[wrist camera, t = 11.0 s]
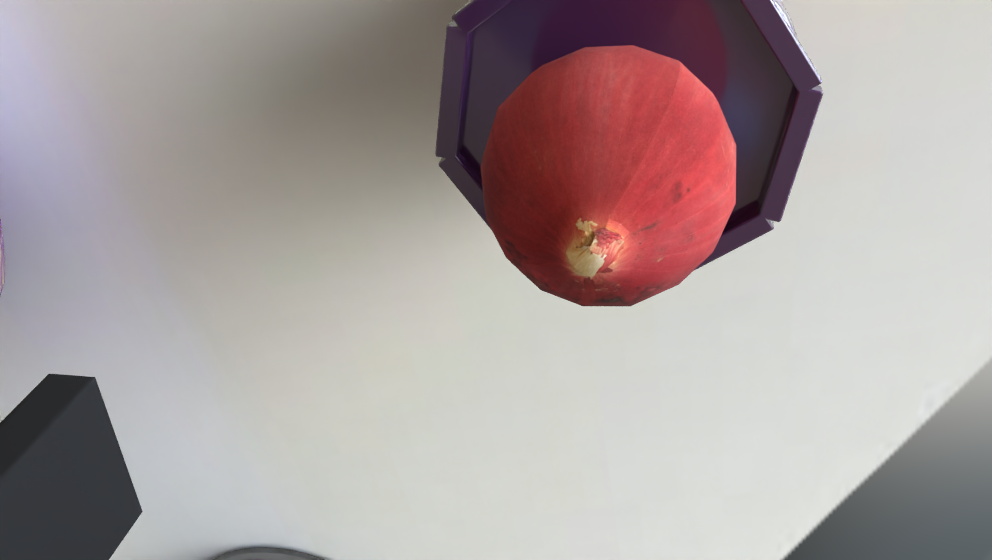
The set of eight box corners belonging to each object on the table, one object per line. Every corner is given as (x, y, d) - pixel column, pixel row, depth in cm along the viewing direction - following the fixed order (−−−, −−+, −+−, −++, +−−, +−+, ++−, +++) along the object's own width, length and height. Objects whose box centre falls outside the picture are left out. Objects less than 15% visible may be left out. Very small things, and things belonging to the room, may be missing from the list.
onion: (727, 215, 25) (739, 400, 18) (521, 216, 26) (460, 389, 19) (735, 1, 22) (753, 125, 15) (501, 13, 23) (421, 134, 16)
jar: (608, 163, 38) (574, 335, 27) (466, -30, 34) (366, 80, 24) (823, 32, 33) (882, 175, 23) (682, -202, 30) (676, -161, 20)
